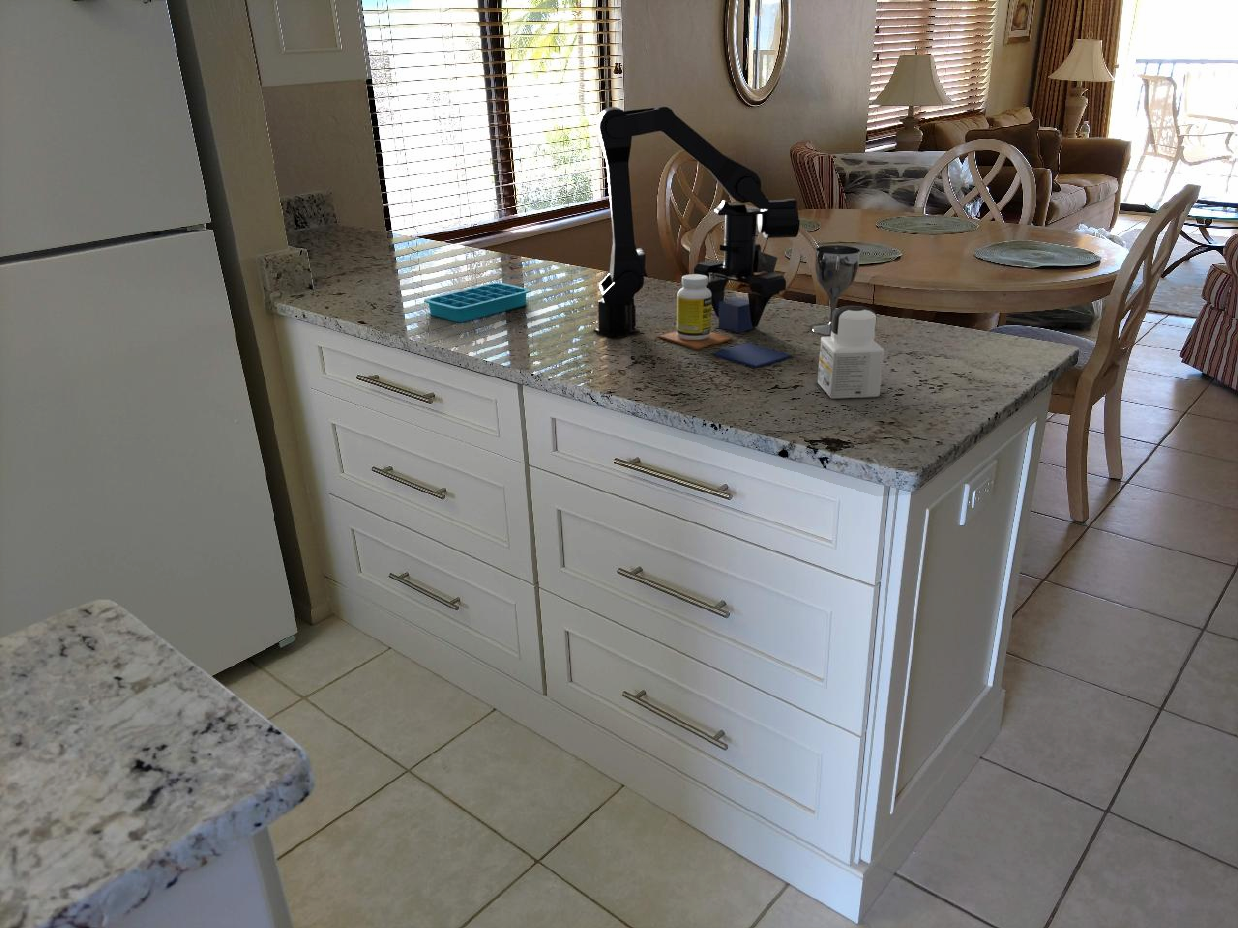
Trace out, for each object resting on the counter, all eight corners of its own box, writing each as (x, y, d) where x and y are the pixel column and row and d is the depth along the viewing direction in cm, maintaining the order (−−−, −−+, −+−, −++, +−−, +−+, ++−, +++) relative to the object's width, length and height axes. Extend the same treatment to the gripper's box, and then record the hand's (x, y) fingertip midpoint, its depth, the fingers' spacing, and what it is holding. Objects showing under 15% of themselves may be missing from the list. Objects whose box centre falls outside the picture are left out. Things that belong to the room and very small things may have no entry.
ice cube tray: (422, 314, 194) (420, 300, 192) (497, 295, 207) (496, 281, 206) (459, 324, 187) (458, 309, 185) (534, 304, 200) (533, 290, 199)
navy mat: (755, 368, 160) (755, 365, 160) (713, 354, 167) (713, 352, 167) (791, 357, 165) (791, 355, 165) (748, 344, 172) (748, 342, 172)
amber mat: (697, 349, 170) (697, 347, 170) (658, 337, 177) (658, 335, 177) (732, 339, 175) (732, 337, 175) (693, 328, 182) (693, 326, 182)
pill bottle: (708, 342, 173) (710, 281, 168) (674, 340, 174) (675, 280, 169) (712, 332, 178) (714, 273, 174) (679, 331, 179) (680, 272, 175)
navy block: (737, 332, 179) (738, 306, 177) (718, 327, 183) (718, 301, 181) (755, 328, 182) (756, 302, 180) (736, 322, 186) (737, 297, 184)
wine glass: (857, 326, 182) (864, 247, 176) (847, 337, 176) (855, 255, 169) (815, 322, 185) (821, 244, 179) (805, 333, 179) (810, 252, 173)
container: (816, 383, 153) (823, 303, 148) (864, 381, 153) (872, 301, 148) (830, 399, 146) (837, 316, 140) (880, 397, 146) (889, 314, 141)
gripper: (808, 240, 174) (802, 323, 180) (733, 226, 187) (730, 305, 193) (767, 248, 167) (762, 335, 174) (692, 234, 180) (690, 315, 187)
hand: (736, 321), depth 182 cm, fingers open, 9 cm apart
